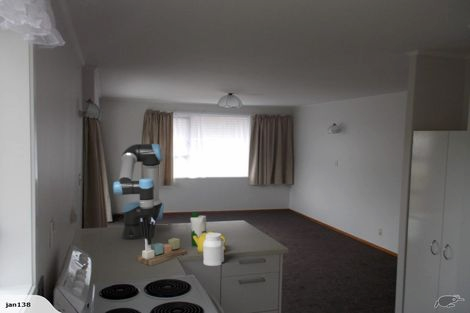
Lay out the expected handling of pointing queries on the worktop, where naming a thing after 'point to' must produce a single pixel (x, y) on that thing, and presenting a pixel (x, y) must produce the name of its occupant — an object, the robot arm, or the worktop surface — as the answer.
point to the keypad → (161, 257)
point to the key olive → (174, 243)
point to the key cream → (148, 254)
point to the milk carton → (197, 226)
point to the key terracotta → (167, 248)
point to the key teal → (157, 248)
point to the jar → (213, 249)
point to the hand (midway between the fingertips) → (148, 250)
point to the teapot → (201, 240)
